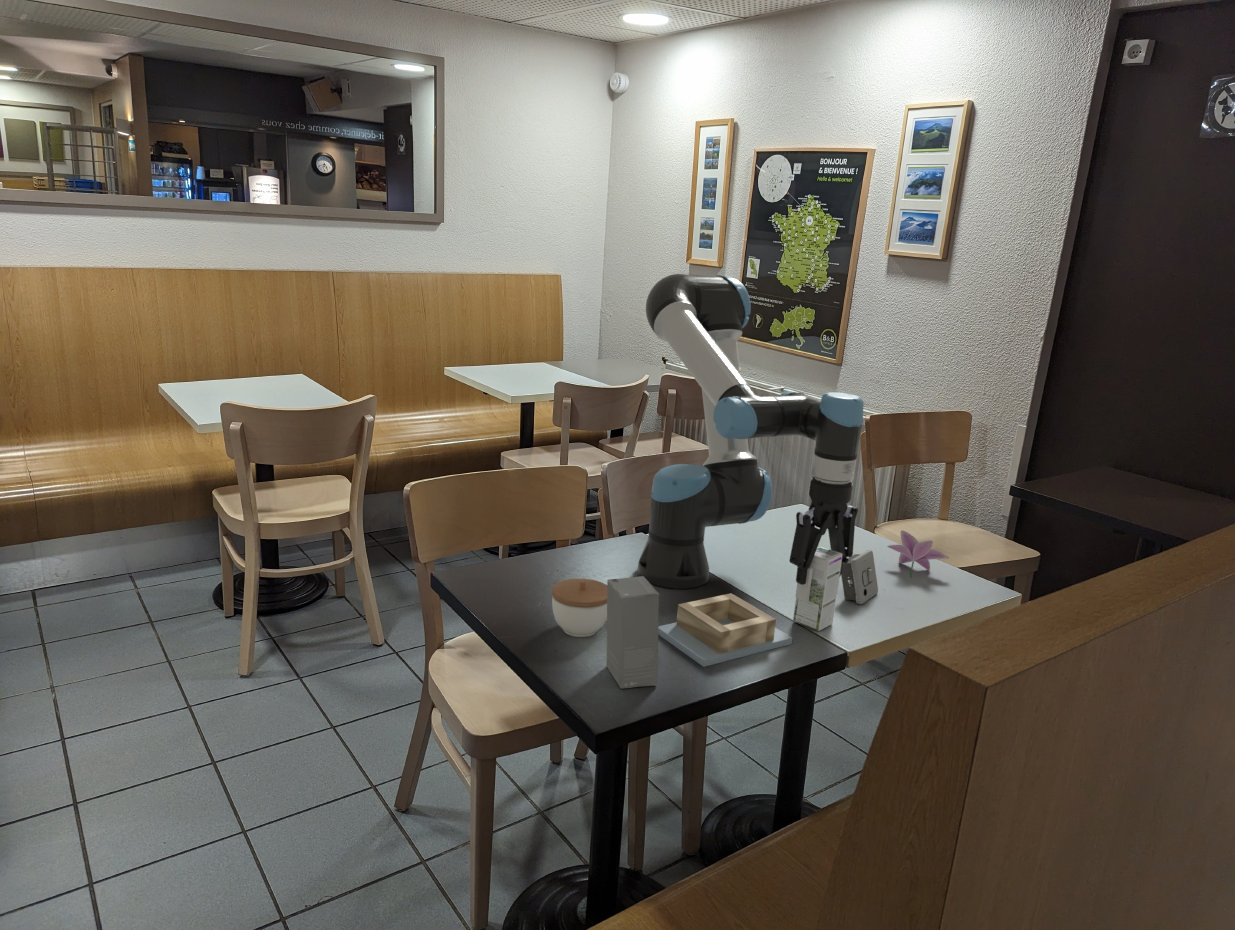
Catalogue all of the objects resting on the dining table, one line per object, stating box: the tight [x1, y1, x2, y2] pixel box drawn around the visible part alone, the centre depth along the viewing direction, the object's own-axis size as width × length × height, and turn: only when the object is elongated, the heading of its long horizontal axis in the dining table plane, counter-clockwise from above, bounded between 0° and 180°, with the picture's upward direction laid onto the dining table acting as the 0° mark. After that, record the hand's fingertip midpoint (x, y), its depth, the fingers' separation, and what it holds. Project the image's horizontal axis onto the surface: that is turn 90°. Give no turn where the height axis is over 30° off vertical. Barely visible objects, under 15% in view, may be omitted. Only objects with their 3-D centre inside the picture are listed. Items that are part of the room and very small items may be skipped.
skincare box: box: [606, 576, 660, 689], centre depth 137 cm, size 8×7×16 cm
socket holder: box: [658, 593, 793, 668], centre depth 154 cm, size 20×14×5 cm
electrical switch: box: [840, 550, 879, 605], centre depth 177 cm, size 9×5×9 cm, turn 141°
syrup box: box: [792, 545, 842, 632], centre depth 161 cm, size 6×6×14 cm
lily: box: [886, 529, 950, 578], centre depth 192 cm, size 12×12×10 cm
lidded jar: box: [551, 578, 607, 638], centre depth 153 cm, size 11×11×9 cm
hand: (816, 595), depth 162 cm, fingers closed on syrup box, 7 cm apart
